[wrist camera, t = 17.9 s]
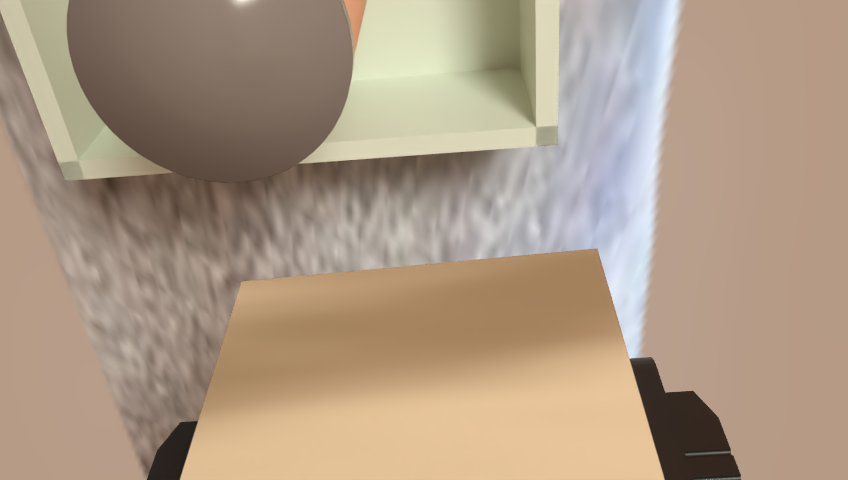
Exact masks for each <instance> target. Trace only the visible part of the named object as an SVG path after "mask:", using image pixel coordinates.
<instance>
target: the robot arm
mask: <svg viewBox="0 0 848 480" xmlns="http://www.w3.org/2000/svg"><path fill="white" fill-rule="evenodd" d="M630 363H631V366H632V369H633V373H634V376H635V380H636V383H637V387H638V390H639V393H640V397H641V400H642V404H643V407H644V411H645V414H646V417H647V421H648V424H649V428H650V431H651V435H652V438H653V441H654V445H655V448H656V452H657V455H658V459H659V462H660V465H661V469H662V472H663V476H664V479H665V480H741V474H740V472H739V470H738V467H737V464H736V462H735V459H734V456H732V455H731V449H730V446H729V444H728V441H727V439H726V436H725V434H724V431H723V428H722V426H721V423H720V420H719V418H718V417H717V416H716V414H714V412H713V411H712V410H711V409H710V408H709V407H708V406H707V405H706V404H705V403H704V402H703V401H702V400H701V399H700V398H699V397H698V396H697V395H696V394H695V392H694V391H685V392H669V393H665V391H664V388H663V385H662V382H661V379H660V376H659V373H658V369H657V367H656V364H655V362H654V360H653V358H651V357H648V358H632V359H630ZM197 423H198V421H193V422H180V423H179V425H178V426H177V427H176V428H175V430H174V431H173V432H172V433H171V434H170V436H169V437H168V438H167V439H166V441H165V442H164V443H163V444H162V445H161V447H160V448H159V449H158V450H157V453H156V456H155V458H154V461H153V464H152V467H151V470H150V473H149V475H148V478H147V480H180V478H181V475H182V471H183V468H184V465H185V462H186V459H187V455H188V452H189V449H190V446H191V442H192V439H193V436H194V433H195V430H196V426H197Z"/></svg>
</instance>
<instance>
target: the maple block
mask: <svg viewBox="0 0 848 480" xmlns="http://www.w3.org/2000/svg"><path fill="white" fill-rule="evenodd" d="M180 480H665V479H664V476H663V472H662V469H661V465H660V462H659V459H658V455H657V452H656V448H655V445H654V441H653V438H652V435H651V431H650V428H649V424H648V421H647V417H646V414H645V411H644V407H643V404H642V400H641V397H640V393H639V390H638V387H637V383H636V380H635V376H634V373H633V369H632V366H631V363H630V359H629V356H628V352H627V349H626V345H625V342H624V339H623V335H622V332H621V328H620V325H619V321H618V318H617V315H616V311H615V308H614V304H613V301H612V297H611V294H610V291H609V287H608V284H607V280H606V277H605V273H604V270H603V267H602V263H601V260H600V256H599V253H598V249H587V250H576V251H565V252H555V253H544V254H533V255H522V256H512V257H501V258H490V259H479V260H468V261H458V262H447V263H436V264H425V265H414V266H404V267H393V268H382V269H371V270H361V271H350V272H339V273H328V274H317V275H307V276H296V277H285V278H274V279H263V280H253V281H242V282H241V285H240V288H239V292H238V295H237V298H236V301H235V304H234V308H233V311H232V314H231V317H230V321H229V324H228V327H227V330H226V333H225V337H224V340H223V343H222V346H221V349H220V353H219V356H218V359H217V362H216V365H215V369H214V372H213V375H212V378H211V381H210V385H209V388H208V391H207V394H206V398H205V401H204V404H203V407H202V410H201V414H200V417H199V420H198V423H197V426H196V430H195V433H194V436H193V439H192V442H191V446H190V449H189V452H188V455H187V459H186V462H185V465H184V468H183V471H182V475H181V478H180Z"/></svg>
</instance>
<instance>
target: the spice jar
mask: <svg viewBox="0 0 848 480" xmlns="http://www.w3.org/2000/svg"><path fill="white" fill-rule="evenodd" d="M366 3H367V0H69V4H68V10H67V40H68V48H69V54H70V58H71V61H72V65H73V69H74V72H75V74H76V77H77V79H78V82H79V84H80V87H81V88H82V90H83V92H84V94H85V96H86V98H87V99H88V101H89V103H90V104H91V106H92V107H93V109H94V110H95V112H96V113H97V114H98V116H99V117H100V119H101V120H102V121H103V122H104V123H105V124H106V125H107V127H108V128H109V129H110V130H111V131H112V132H113V133H114V134H115V135H116V136H117V137H118V138H119V139H121V140H122V141H123V142H124V143H125V144H126V145H127V146H129V147H130V148H131V149H133V150H134V151H135V152H137V153H138V154H140V155H141V156H143V157H144V158H146V159H148V160H150V161H151V162H153V163H155V164H156V165H159V166H161V167H163V168H165V169H167V170H170V171H172V172H175V173H178V174H181V175H184V176H187V177H190V178H195V179H200V180H204V181H212V182H223V183H228V182H246V181H253V180H259V179H262V178H266V177H270V176H273V175H276V174H278V173H280V172H283V171H285V170H288V169H289V168H291V167H293V166H295V165H296V164H298V163H300V162H301V161H303V160H304V159H305V158H307V157H308V156H309V155H310V154H312V153H313V152H314V151H315V150H316V149H317V148H318V147H319V146H320V145H321V144H322V143H323V142H324V141H325V140H326V138H327V137H328V135H329V134H330V133H331V131H332V130H333V129H334V127H335V125H336V123H337V121H338V120H339V118H340V116H341V114H342V111H343V109H344V106H345V103H346V100H347V97H348V93H349V88H350V84H351V79H352V74H353V67H354V55H355V50H356V46H357V42H358V37H359V33H360V29H361V24H362V20H363V16H364V11H365V7H366Z"/></svg>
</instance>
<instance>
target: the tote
mask: <svg viewBox="0 0 848 480" xmlns="http://www.w3.org/2000/svg"><path fill="white" fill-rule="evenodd" d="M68 4H69V0H0V12H1V15H2V17H3V20H4V22H5V25H6V28H7V30H8V33H9V35H10V38H11V41H12V43H13V46H14V48H15V51H16V54H17V56H18V59H19V62H20V64H21V67H22V69H23V72H24V75H25V77H26V80H27V82H28V85H29V88H30V90H31V93H32V95H33V98H34V101H35V103H36V106H37V108H38V111H39V114H40V116H41V119H42V122H43V124H44V127H45V129H46V132H47V135H48V137H49V140H50V142H51V145H52V148H53V150H54V153H55V155H56V158H57V161H58V163H59V166H60V168H61V171H62V174H63V176H64V179H65V181H69V180H83V179H97V178H110V177H124V176H138V175H152V174H165V173H175V172H172V171H170V170H167V169H165V168H163V167H161V166H159V165H156V164H155V163H153V162H151V161H150V160H148V159H146V158H144V157H143V156H141V155H140V154H138V153H137V152H135V151H134V150H133V149H131V148H130V147H129V146H127V145H126V144H125V143H124V142H123V141H122V140H121V139H119V138H118V137H117V136H116V135H115V134H114V133H113V132H112V131H111V130H110V129H109V128H108V127H107V125H106V124H105V123H104V122H103V121H102V120H101V119H100V117H99V116H98V114H97V113H96V112H95V110H94V109H93V107H92V106H91V104H90V103H89V101H88V99H87V98H86V96H85V94H84V92H83V90H82V88H81V87H80V84H79V82H78V79H77V77H76V74H75V72H74V69H73V65H72V61H71V58H70V54H69V48H68V40H67V10H68ZM558 69H559V0H367V3H366V7H365V11H364V16H363V20H362V24H361V29H360V33H359V37H358V42H357V46H356V50H355V55H354V67H353V74H352V79H351V84H350V88H349V93H348V97H347V100H346V103H345V106H344V109H343V111H342V114H341V116H340V118H339V120H338V121H337V123H336V125H335V127H334V129H333V130H332V131H331V133H330V134H329V135H328V137H327V138H326V140H325V141H324V142H323V143H322V144H321V145H320V146H319V147H318V148H317V149H316V150H315V151H314V152H313V153H312V154H310V155H309V156H308V157H307V158H305V159H304V160H303V161H301V162H300V163H298V164H302V163H316V162H330V161H343V160H357V159H371V158H384V157H398V156H412V155H426V154H439V153H453V152H467V151H480V150H494V149H508V148H521V147H535V146H549V145H558Z"/></svg>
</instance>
